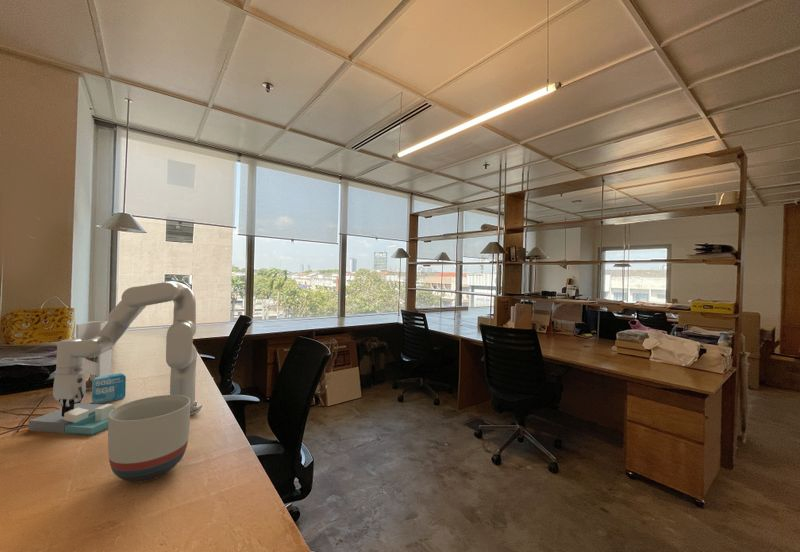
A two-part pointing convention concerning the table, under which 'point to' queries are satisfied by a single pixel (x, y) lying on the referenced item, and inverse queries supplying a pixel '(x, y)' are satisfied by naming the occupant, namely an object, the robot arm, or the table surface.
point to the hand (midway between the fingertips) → (67, 415)
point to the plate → (57, 419)
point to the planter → (148, 436)
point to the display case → (100, 363)
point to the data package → (108, 388)
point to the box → (87, 426)
